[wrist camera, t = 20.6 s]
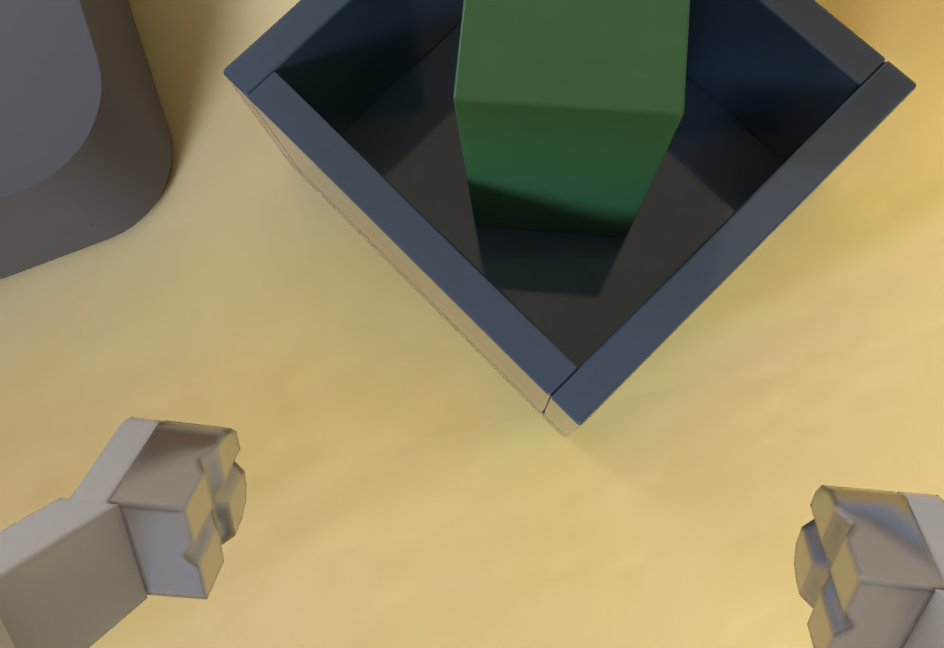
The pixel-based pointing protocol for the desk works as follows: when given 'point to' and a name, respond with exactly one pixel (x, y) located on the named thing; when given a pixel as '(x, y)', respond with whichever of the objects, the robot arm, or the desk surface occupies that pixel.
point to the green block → (567, 108)
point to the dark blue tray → (559, 253)
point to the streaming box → (74, 128)
